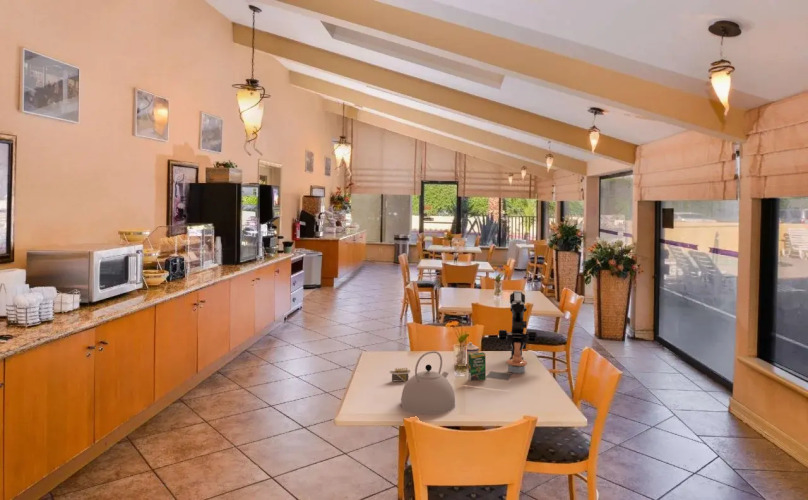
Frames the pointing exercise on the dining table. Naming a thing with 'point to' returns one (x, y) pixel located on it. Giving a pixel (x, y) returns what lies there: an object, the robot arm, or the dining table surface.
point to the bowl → (516, 369)
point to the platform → (400, 374)
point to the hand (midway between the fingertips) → (517, 350)
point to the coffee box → (477, 366)
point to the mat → (499, 375)
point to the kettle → (428, 391)
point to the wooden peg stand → (517, 356)
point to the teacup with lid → (471, 350)
